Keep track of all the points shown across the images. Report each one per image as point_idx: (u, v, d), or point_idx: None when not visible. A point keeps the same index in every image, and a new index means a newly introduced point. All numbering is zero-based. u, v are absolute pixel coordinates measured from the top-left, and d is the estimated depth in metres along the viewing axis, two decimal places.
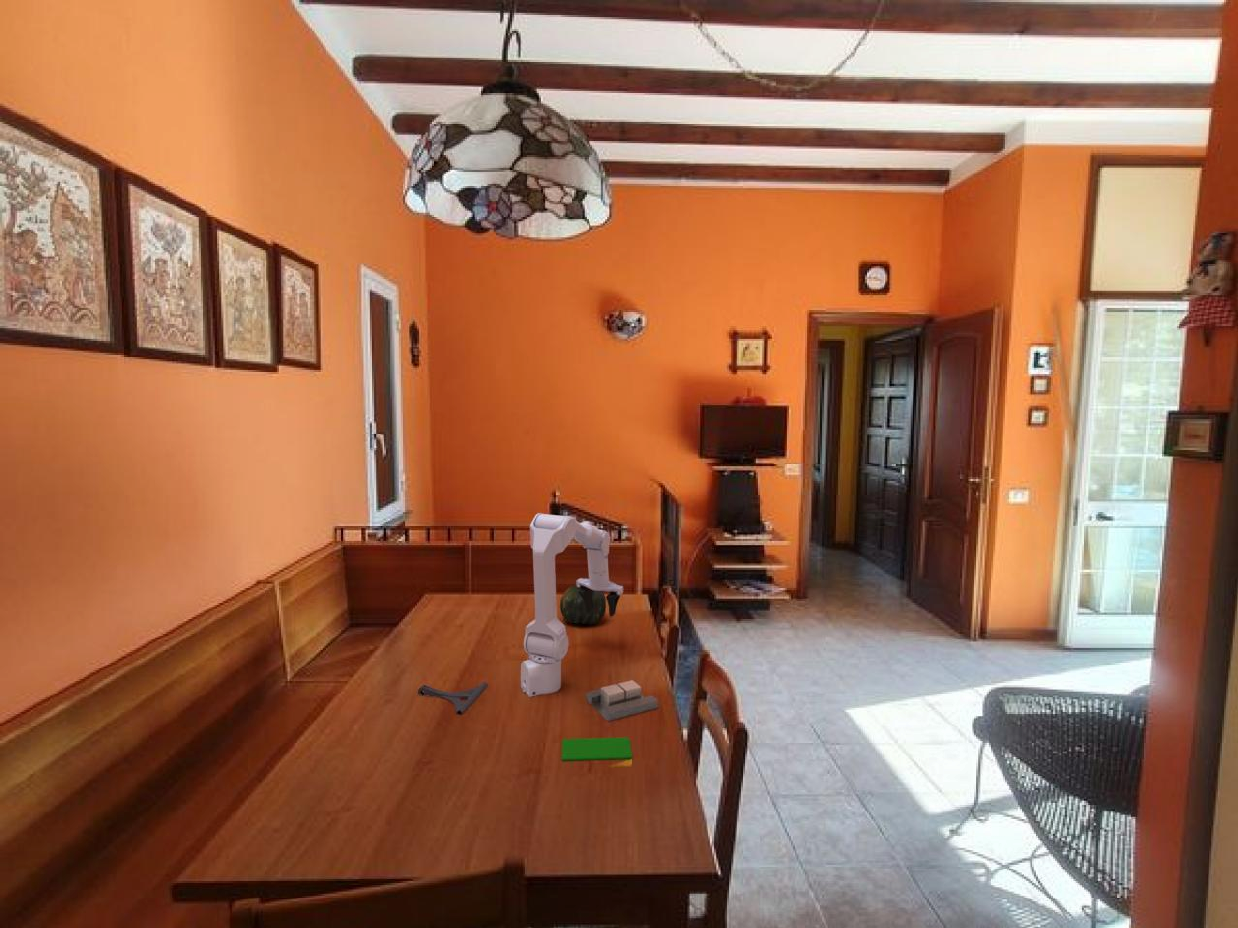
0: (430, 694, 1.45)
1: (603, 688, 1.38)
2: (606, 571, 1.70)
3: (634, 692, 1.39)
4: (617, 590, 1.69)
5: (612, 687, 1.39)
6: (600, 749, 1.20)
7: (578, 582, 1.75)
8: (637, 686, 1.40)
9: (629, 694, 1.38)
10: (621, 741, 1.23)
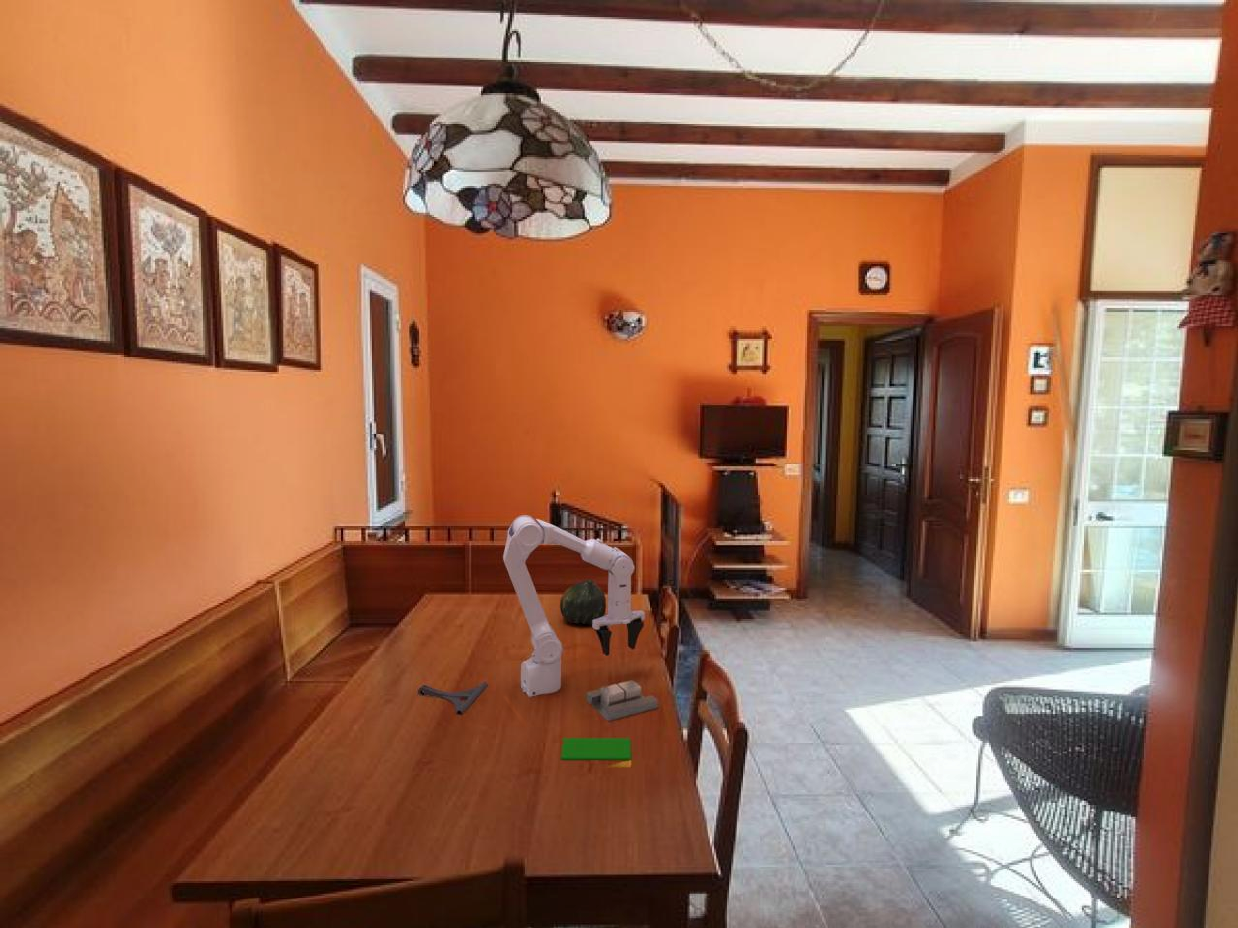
0: (430, 694, 1.45)
1: (603, 688, 1.38)
2: (609, 601, 1.50)
3: (634, 692, 1.39)
4: None
5: (612, 687, 1.39)
6: (600, 749, 1.20)
7: None
8: (637, 686, 1.40)
9: (629, 694, 1.38)
10: (621, 742, 1.23)
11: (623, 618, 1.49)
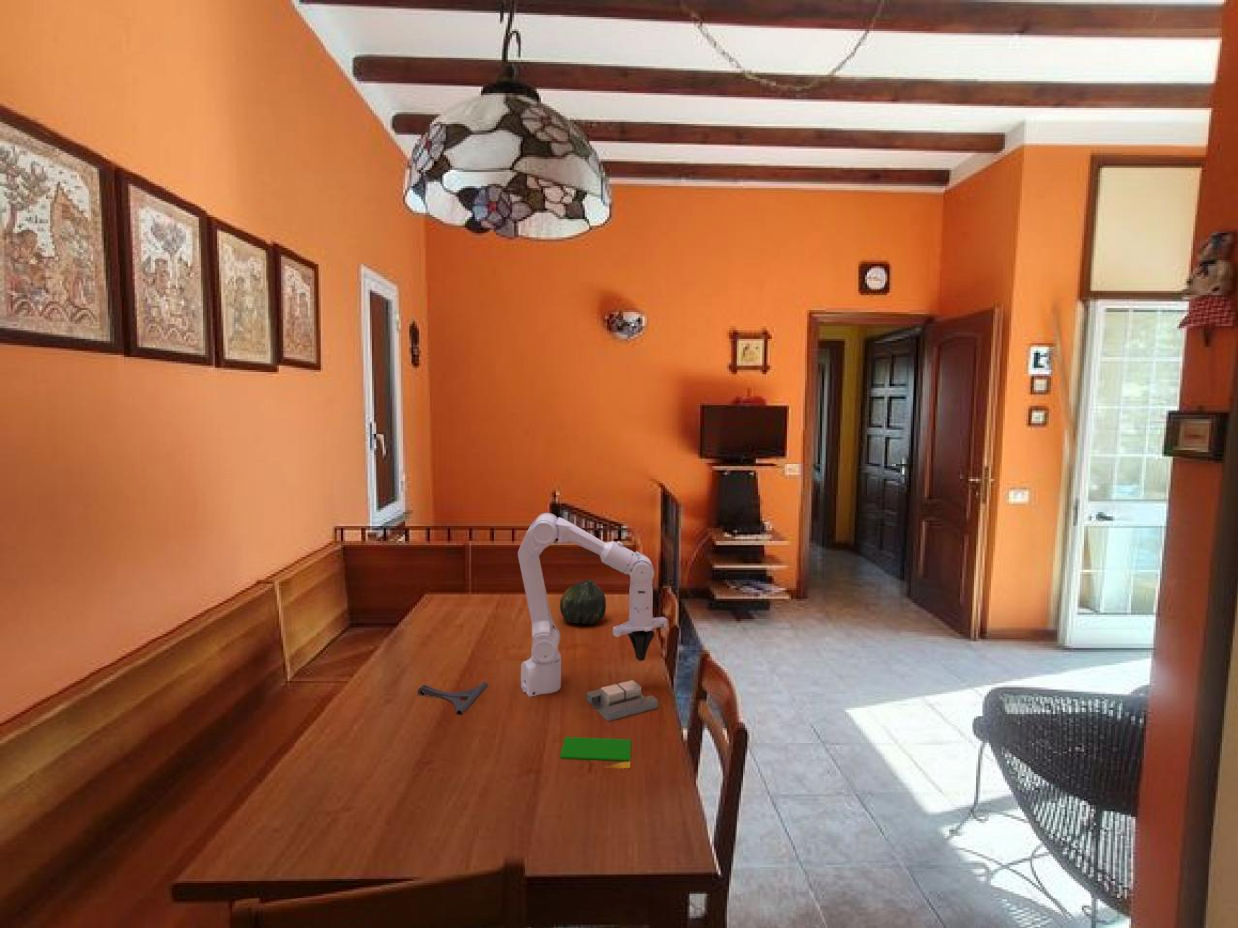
0: (430, 694, 1.45)
1: (603, 688, 1.38)
2: (630, 607, 1.45)
3: (634, 692, 1.39)
4: None
5: (612, 687, 1.39)
6: (599, 749, 1.20)
7: None
8: (637, 686, 1.40)
9: (629, 694, 1.38)
10: (622, 743, 1.22)
11: (645, 625, 1.44)
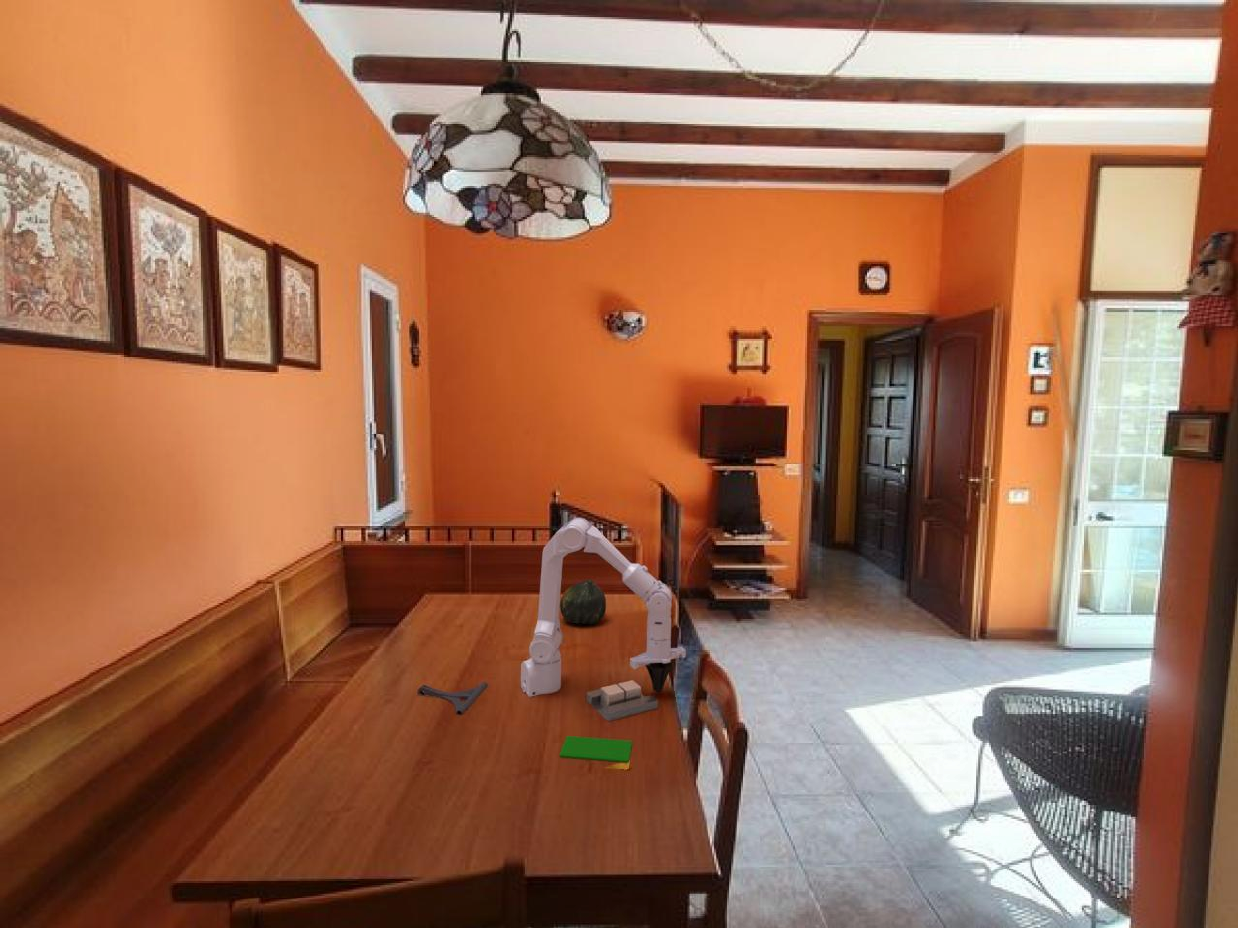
0: (430, 694, 1.45)
1: (603, 688, 1.38)
2: (648, 638, 1.42)
3: (634, 692, 1.39)
4: None
5: (612, 687, 1.39)
6: (599, 749, 1.20)
7: None
8: (637, 686, 1.40)
9: (629, 694, 1.38)
10: (622, 744, 1.22)
11: (663, 657, 1.41)
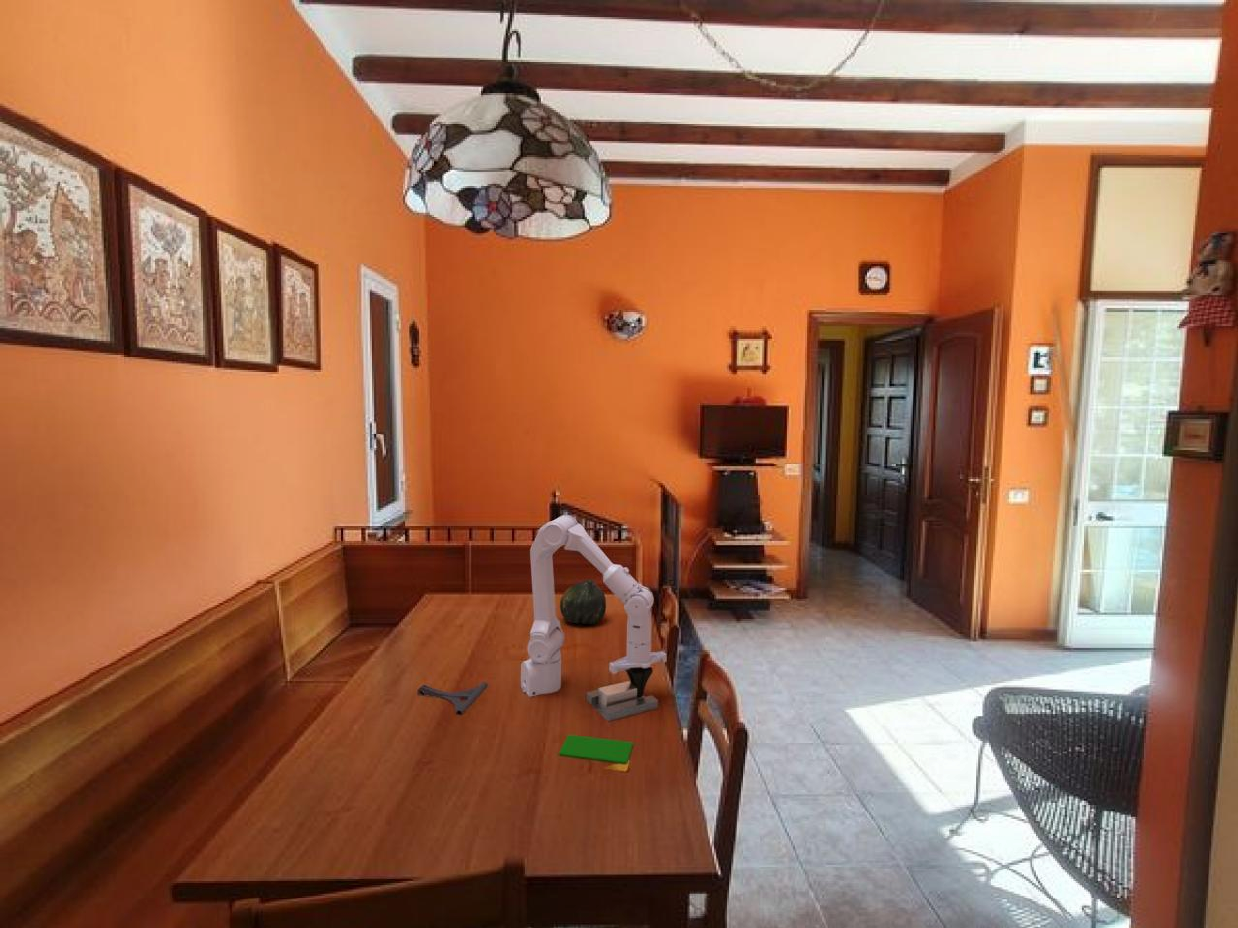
0: (430, 694, 1.45)
1: (601, 688, 1.38)
2: (628, 642, 1.39)
3: (630, 693, 1.38)
4: None
5: (609, 688, 1.39)
6: (599, 750, 1.20)
7: None
8: (633, 687, 1.39)
9: (625, 696, 1.37)
10: (623, 745, 1.21)
11: (643, 661, 1.38)
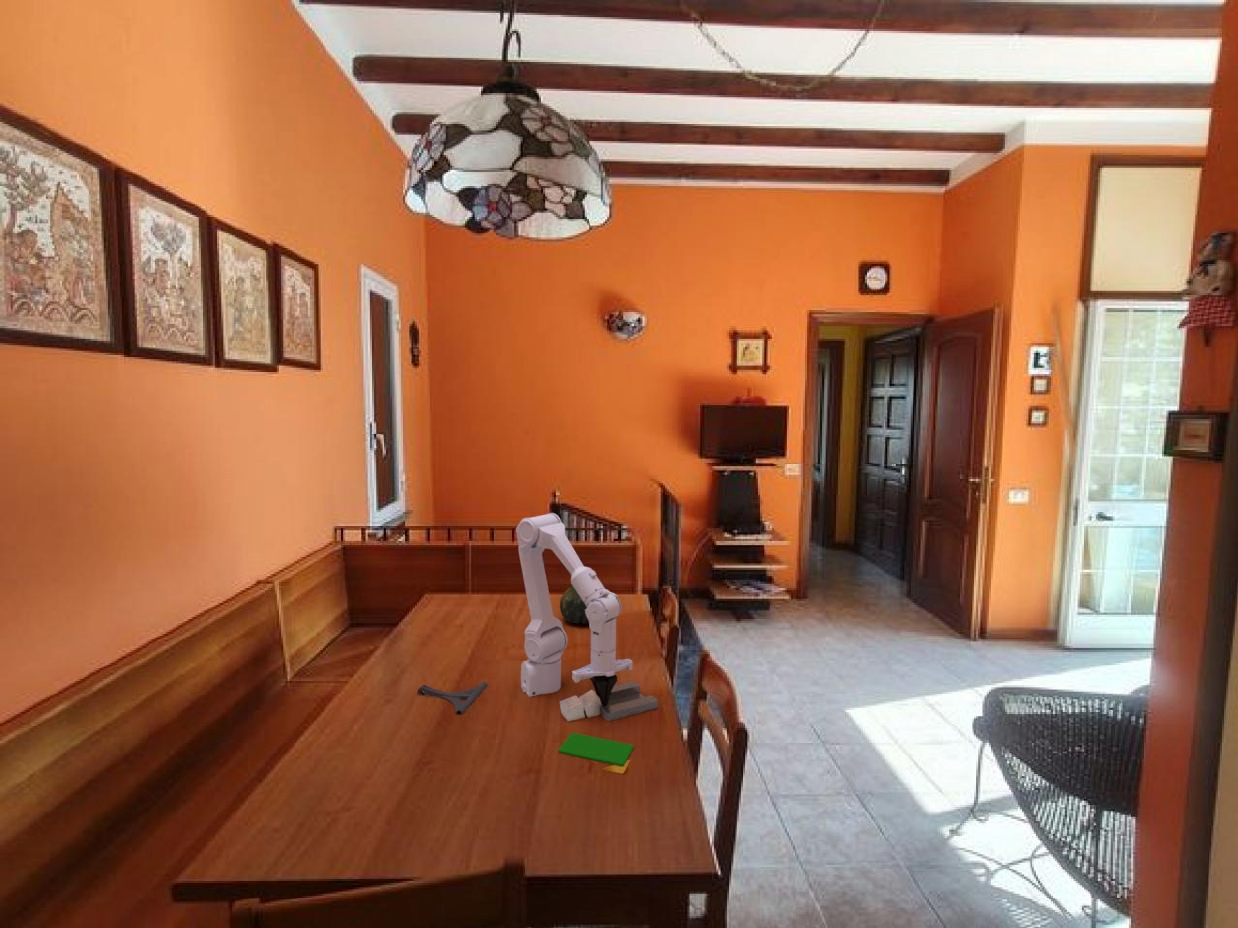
0: (430, 694, 1.45)
1: (562, 701, 1.34)
2: (591, 650, 1.35)
3: (593, 704, 1.34)
4: None
5: (571, 699, 1.34)
6: (598, 750, 1.20)
7: None
8: (595, 697, 1.34)
9: (589, 708, 1.33)
10: (623, 747, 1.21)
11: (606, 670, 1.33)
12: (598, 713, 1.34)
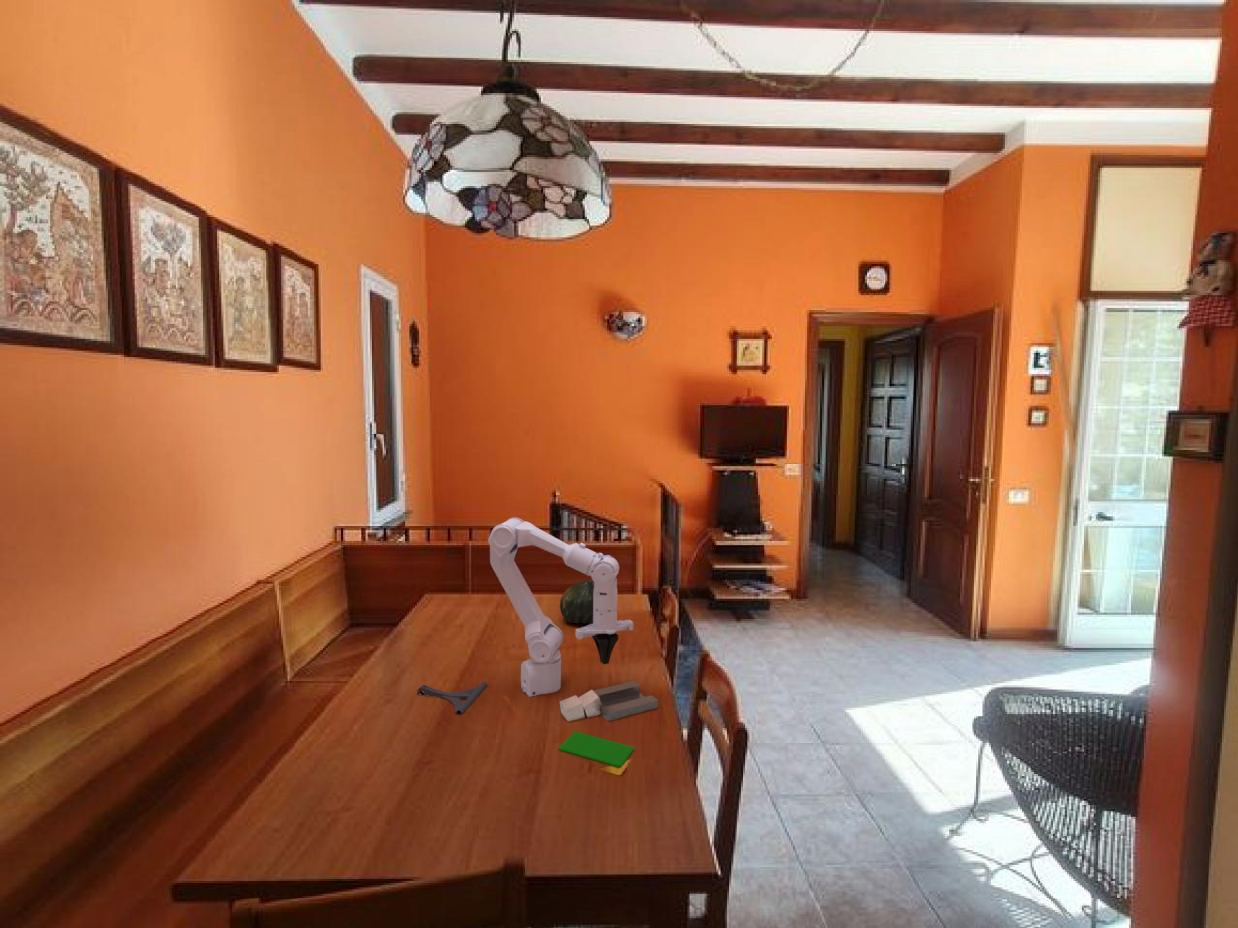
0: (430, 694, 1.45)
1: (562, 701, 1.34)
2: (594, 609, 1.42)
3: (593, 704, 1.34)
4: None
5: (571, 699, 1.34)
6: (598, 750, 1.20)
7: None
8: (595, 697, 1.34)
9: (589, 708, 1.33)
10: (623, 749, 1.20)
11: (608, 628, 1.41)
12: (598, 713, 1.34)
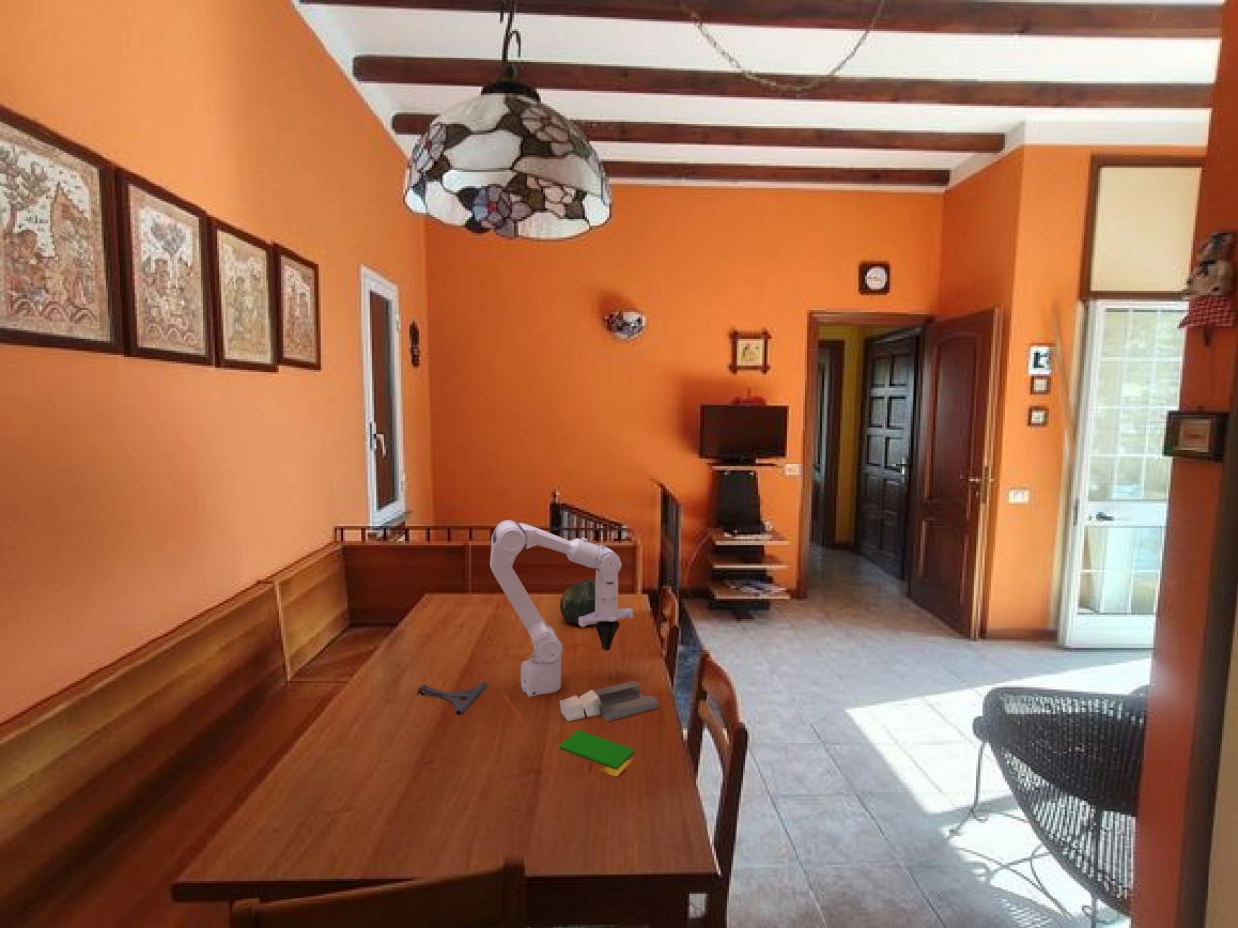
0: (429, 694, 1.45)
1: (562, 701, 1.34)
2: (596, 598, 1.49)
3: (593, 704, 1.34)
4: None
5: (571, 699, 1.34)
6: (597, 750, 1.20)
7: None
8: (595, 697, 1.34)
9: (589, 708, 1.33)
10: (622, 751, 1.20)
11: (609, 616, 1.48)
12: (598, 713, 1.34)
